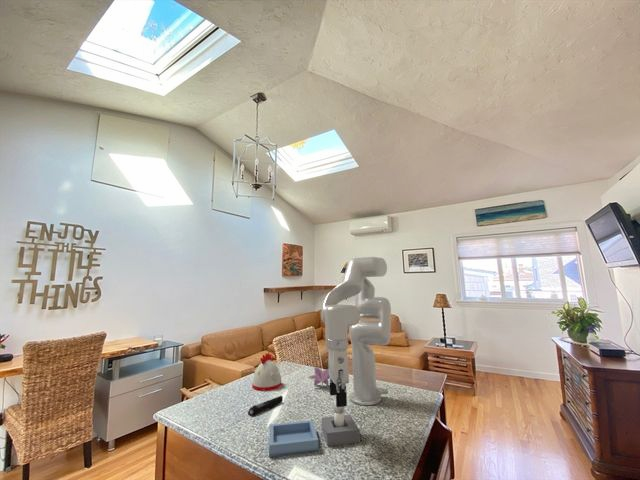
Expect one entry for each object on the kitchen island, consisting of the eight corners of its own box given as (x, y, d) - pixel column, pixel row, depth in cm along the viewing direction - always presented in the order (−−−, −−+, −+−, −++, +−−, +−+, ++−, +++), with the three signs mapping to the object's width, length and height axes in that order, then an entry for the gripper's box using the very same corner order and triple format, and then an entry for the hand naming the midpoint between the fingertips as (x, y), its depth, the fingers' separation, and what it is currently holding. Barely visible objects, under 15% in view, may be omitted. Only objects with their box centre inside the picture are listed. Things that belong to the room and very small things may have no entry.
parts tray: (312, 430, 90) (312, 420, 91) (318, 451, 78) (318, 439, 79) (269, 434, 88) (269, 424, 88) (268, 457, 76) (269, 445, 77)
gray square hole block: (350, 426, 92) (350, 414, 93) (359, 442, 83) (359, 429, 83) (321, 429, 91) (321, 417, 91) (327, 446, 81) (327, 433, 82)
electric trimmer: (284, 404, 111) (285, 396, 112) (252, 418, 100) (253, 408, 101) (279, 402, 114) (279, 394, 115) (247, 415, 103) (247, 405, 103)
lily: (340, 389, 128) (337, 368, 134) (329, 386, 119) (326, 363, 125) (317, 395, 131) (315, 374, 137) (305, 393, 122) (303, 370, 128)
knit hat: (246, 387, 131) (246, 354, 133) (267, 379, 142) (267, 348, 144) (266, 393, 123) (267, 358, 125) (287, 384, 134) (287, 351, 136)
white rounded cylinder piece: (343, 432, 88) (342, 398, 90) (345, 437, 85) (344, 402, 87) (333, 433, 88) (332, 399, 90) (335, 438, 85) (334, 403, 86)
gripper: (355, 348, 83) (357, 410, 80) (341, 339, 100) (342, 390, 97) (331, 349, 82) (332, 412, 79) (321, 340, 99) (321, 391, 96)
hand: (337, 400), depth 88 cm, fingers open, 9 cm apart
